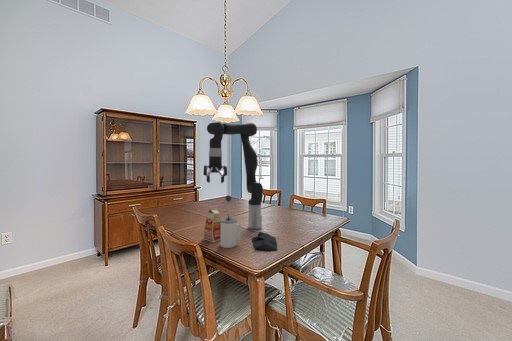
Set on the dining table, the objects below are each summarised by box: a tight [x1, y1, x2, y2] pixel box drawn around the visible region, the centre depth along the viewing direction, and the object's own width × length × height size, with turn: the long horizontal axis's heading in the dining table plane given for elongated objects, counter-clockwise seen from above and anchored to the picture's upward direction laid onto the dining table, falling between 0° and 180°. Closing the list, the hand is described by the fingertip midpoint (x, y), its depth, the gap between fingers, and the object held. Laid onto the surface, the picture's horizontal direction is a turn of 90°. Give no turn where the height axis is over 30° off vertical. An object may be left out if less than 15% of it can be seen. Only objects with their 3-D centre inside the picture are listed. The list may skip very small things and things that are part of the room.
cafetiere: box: [219, 216, 242, 249], centre depth 139 cm, size 12×9×15 cm
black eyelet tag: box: [251, 231, 278, 252], centre depth 142 cm, size 15×22×5 cm
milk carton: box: [202, 207, 221, 243], centre depth 149 cm, size 9×9×20 cm
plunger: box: [225, 194, 233, 220], centre depth 138 cm, size 4×4×16 cm
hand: (215, 182), depth 145 cm, fingers open, 8 cm apart
